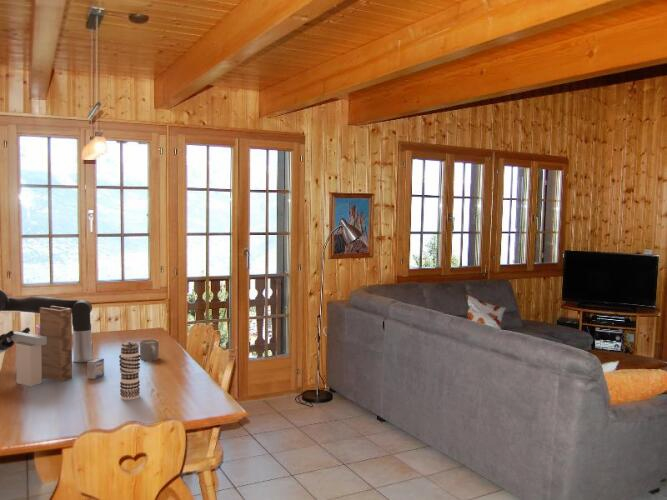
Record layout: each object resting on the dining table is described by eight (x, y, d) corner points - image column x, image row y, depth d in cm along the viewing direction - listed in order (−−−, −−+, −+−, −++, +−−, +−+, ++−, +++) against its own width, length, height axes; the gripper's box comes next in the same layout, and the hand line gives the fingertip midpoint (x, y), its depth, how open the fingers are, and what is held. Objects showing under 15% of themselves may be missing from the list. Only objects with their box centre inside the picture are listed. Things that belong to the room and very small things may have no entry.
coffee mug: (138, 357, 344) (138, 339, 343) (157, 355, 348) (157, 338, 347) (142, 363, 331) (142, 345, 331) (160, 361, 336) (160, 343, 335)
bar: (16, 338, 296) (16, 331, 296) (46, 344, 287) (46, 336, 287) (9, 340, 293) (9, 332, 293) (39, 345, 284) (39, 338, 283)
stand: (52, 373, 307) (51, 305, 304) (72, 378, 301) (71, 308, 298) (40, 377, 301) (39, 307, 298) (60, 381, 295) (59, 310, 292)
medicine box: (95, 379, 300) (95, 362, 299) (87, 378, 301) (86, 361, 300) (104, 375, 308) (104, 358, 307) (96, 374, 309) (96, 357, 308)
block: (27, 379, 296) (27, 339, 295) (41, 383, 292) (41, 342, 290) (16, 383, 291) (15, 342, 289) (30, 386, 287) (30, 344, 285)
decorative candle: (128, 401, 269) (128, 345, 267) (114, 397, 274) (114, 342, 272) (144, 395, 277) (144, 342, 275) (131, 392, 282) (131, 339, 280)
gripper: (-15, 339, 293) (4, 326, 286) (12, 334, 306) (31, 321, 299) (-9, 353, 292) (10, 340, 285) (18, 347, 304) (36, 335, 298)
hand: (20, 330), depth 292 cm, fingers open, 8 cm apart
